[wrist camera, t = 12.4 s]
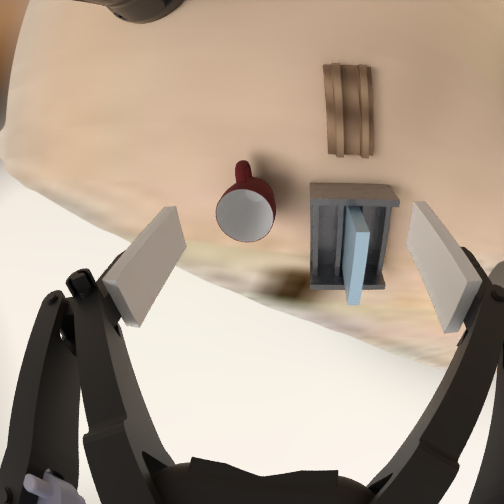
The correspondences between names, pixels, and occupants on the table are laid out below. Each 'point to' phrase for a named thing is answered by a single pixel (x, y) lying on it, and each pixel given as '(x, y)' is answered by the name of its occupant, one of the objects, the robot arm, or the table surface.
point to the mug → (246, 207)
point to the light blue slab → (354, 252)
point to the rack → (331, 231)
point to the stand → (349, 109)
